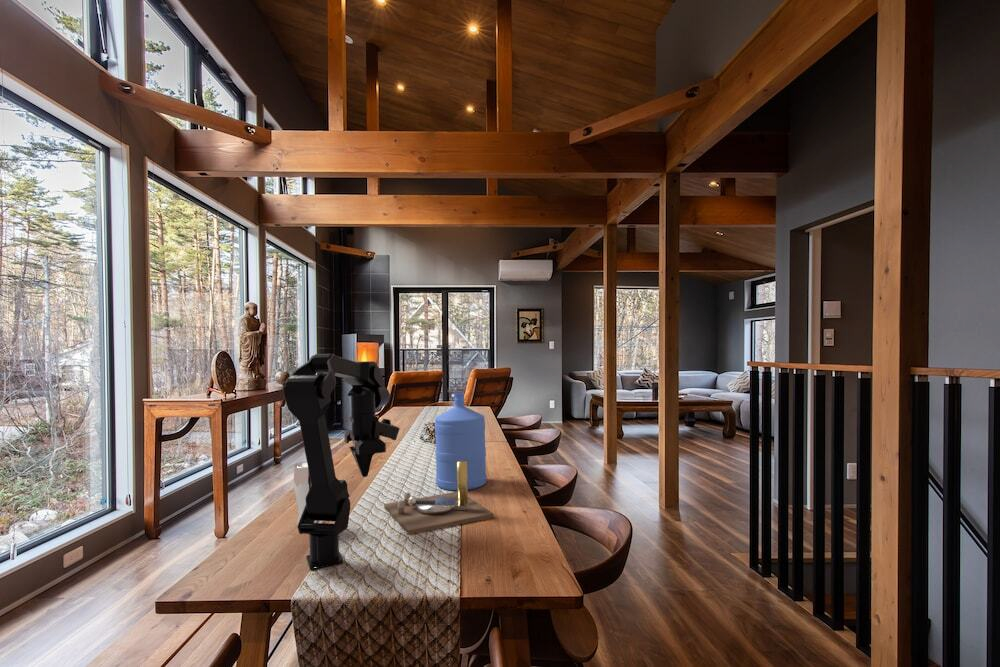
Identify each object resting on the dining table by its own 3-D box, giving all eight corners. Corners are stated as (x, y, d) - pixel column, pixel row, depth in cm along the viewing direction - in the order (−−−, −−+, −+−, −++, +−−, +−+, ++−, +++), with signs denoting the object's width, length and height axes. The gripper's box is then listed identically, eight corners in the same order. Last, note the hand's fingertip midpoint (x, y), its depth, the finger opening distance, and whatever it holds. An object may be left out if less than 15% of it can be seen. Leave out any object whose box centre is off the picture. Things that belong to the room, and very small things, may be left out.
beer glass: (315, 530, 124) (313, 468, 124) (288, 529, 126) (287, 467, 126) (330, 520, 131) (328, 460, 131) (305, 519, 133) (303, 460, 133)
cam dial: (401, 513, 131) (400, 465, 131) (414, 500, 141) (413, 456, 141) (463, 515, 129) (462, 466, 129) (472, 502, 139) (471, 457, 139)
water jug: (485, 490, 153) (483, 395, 153) (432, 492, 153) (430, 397, 153) (487, 476, 169) (485, 390, 169) (439, 477, 169) (437, 391, 169)
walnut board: (493, 517, 130) (493, 501, 130) (408, 534, 120) (407, 517, 120) (459, 494, 150) (459, 480, 150) (384, 507, 140) (383, 492, 140)
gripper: (406, 414, 122) (408, 480, 122) (386, 405, 139) (387, 464, 139) (358, 418, 117) (360, 488, 117) (343, 409, 134) (344, 469, 134)
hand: (364, 476), depth 127 cm, fingers closed
